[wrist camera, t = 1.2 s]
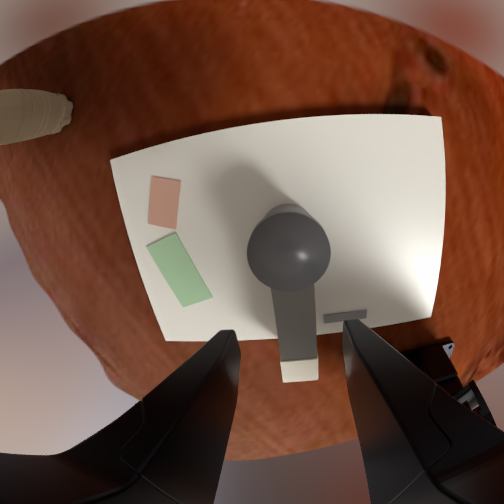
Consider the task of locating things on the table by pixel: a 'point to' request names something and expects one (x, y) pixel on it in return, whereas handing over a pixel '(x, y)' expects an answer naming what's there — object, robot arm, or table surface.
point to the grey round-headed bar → (291, 282)
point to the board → (288, 192)
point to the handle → (31, 114)
